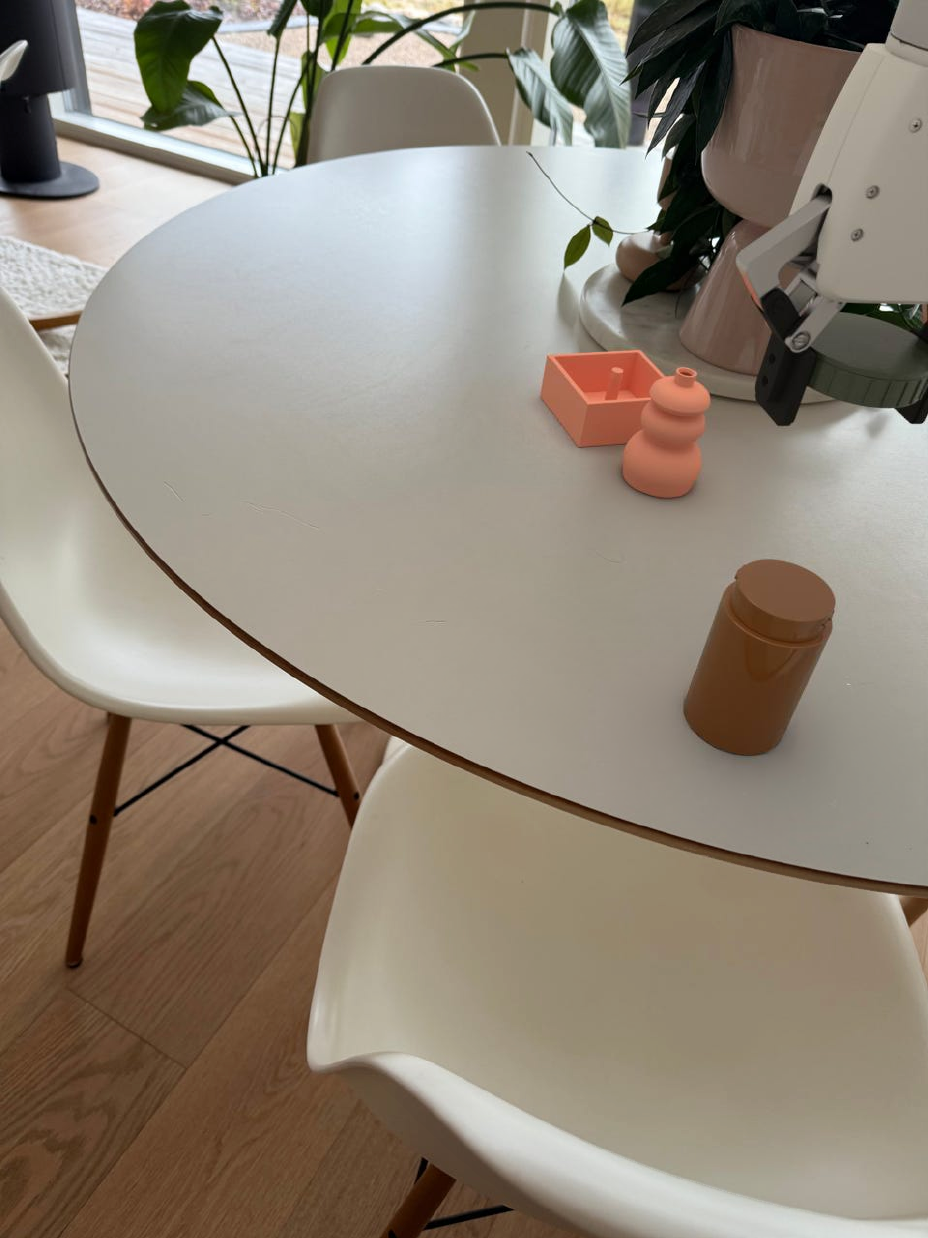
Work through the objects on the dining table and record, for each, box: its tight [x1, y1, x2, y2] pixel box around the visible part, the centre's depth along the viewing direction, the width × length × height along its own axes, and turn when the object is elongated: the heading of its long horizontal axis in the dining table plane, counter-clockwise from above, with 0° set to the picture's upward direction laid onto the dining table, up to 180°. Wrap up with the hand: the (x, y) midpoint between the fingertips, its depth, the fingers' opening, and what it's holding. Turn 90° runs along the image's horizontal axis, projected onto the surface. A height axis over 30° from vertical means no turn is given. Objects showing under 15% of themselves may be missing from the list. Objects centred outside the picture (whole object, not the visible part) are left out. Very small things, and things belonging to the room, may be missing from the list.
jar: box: [683, 558, 836, 756], centre depth 61 cm, size 6×6×11 cm
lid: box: [807, 311, 928, 409], centre depth 50 cm, size 7×7×2 cm
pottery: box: [539, 349, 711, 499], centre depth 86 cm, size 18×10×10 cm, turn 19°
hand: (838, 409), depth 52 cm, fingers closed on lid, 7 cm apart
